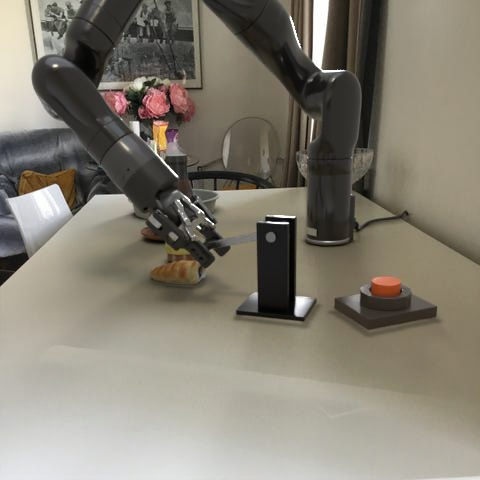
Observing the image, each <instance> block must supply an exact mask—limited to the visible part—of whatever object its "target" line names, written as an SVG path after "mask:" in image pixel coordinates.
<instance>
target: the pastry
mask: <svg viewBox="0 0 480 480" xmlns="http://www.w3.org/2000/svg"><path fill="white" fill-rule="evenodd" d="M149 275H150V276H151V278H152V279H153V280H154V281H156V282H162V283H167V284H177V285H191V286H192V285H193V286H195V285H197V284H198V283H200V281H201V280H202V279H204V278H207V270H206V268H203V267H202V266H201V265H200V264H199V262H198V261H197V260H190V261H185V260H180V261H179V262H178V261H176V262H172V263H171V262H168V263H166V264H165V265H164V264H162V265H159V266H156V267H154V268H153V269H152V270H150V272H149Z"/></svg>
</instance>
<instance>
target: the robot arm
mask: <svg viewBox="0 0 480 480" xmlns="http://www.w3.org/2000/svg"><path fill="white" fill-rule="evenodd" d="M145 1H146V0H82V2H81V4H80V5H79V7H78V8H77V11H76V12H75V13H74V15H73V17H72V19H71V20H70V22H69V24H68V26H67V28H66V29H65V34H64V44H65V45H64V51H63V53H62V54H58V53H49V54H45V55H43V56H41V57H39V59H37V60H36V62H34V65H33V67H32V70H31V85H32V88H33V91H34V93H35V95H36V96H37V98H38V100H39V101H40V103H41V105H42V107H43V108H44V110H45V111H46V112H47V114H48V115H49V116H50V117H52V118H53V119H55V120H56V121H58V122H63V123H64V124H65V125H66V126H67V127H68V128H69V129H70V130H71V131H72V133H73V134H74V135H75V138H76V139H77V141H78V142H79V144H80V145H81V147H82V148H83V149H84V150H85V151H86V153H88V154H89V156H91V158H92V160H94V161H95V162H96V163H97V164H98V165H99V166H100V168H101V169H102V170H103V171H104V173H105V174H106V176H107V177H108V178H109V179H110V180H111V182H112V183H113V184H114V185H115V186H116V187H117V188H118V189H119V190H120V191H121V193H123V195H125V197H126V198H127V200H128V199H129V200H130V201H131V202H132V203H133V204H134V205H135V206H136V207H137V208H138V209H139V210H140V211H141V212H142V213H149V212H152V215H151V216H150V217H149V218H148V219H145V225H146V227H149V228H150V229H151V230H152V231H154V232H155V233H156V234H157V235H158V236H159V237H160V238H161V239H163V240H164V243H165V242H166V243H167V244H168V245H169V246H170V247H171V248H173V249H174V250H175V251H178V250H179V249H182V250H184V251H188V252H189V253H190V254H191V255H192V256H193V257H194V258H195V259H196V260H195V261H198V262H199V264H200V265H201V266H202V267H203V268H205V269H208V268H209V267H210V266H212V264H213V263H214V262H215V261H216V256H215V255H214V254H213V253H212V252H211V250H208V249H207V248H206V247H205V246H204V245H203V244H202V243H203V242H202V241H201V240H200V239H198V240H197V237H196V236H195V234H194V232H196V233H197V235H198V236H199V237H201V238H203V239H204V242H205V241H207V240H208V239H210V238H211V237H216V238H217V239H218V240H220V239H225V238H224V237H223V236H222V235H221V234H220V233H219V231H217V230H216V228H217V226H216V225H217V224H218V220H217V218H216V217H215V216H214V215H213V213H211V212H210V211H209V210H208V208H207V207H206V206H205V205H204V203H203V202H202V201H201V200H200V198H199V197H198V196H197V195H196V194H192V195H191V197H189V198H187V197H186V196H185V195H183V194H182V193H181V192H179V191H178V190H177V185H178V184H179V177H178V176H177V175H176V174H175V173H174V172H173V171H172V169H171V168H170V167H169V166H168V165H167V164H166V161H164V159H163V158H161V156H159V154H158V153H157V152H156V151H155V150H154V149H153V148H152V147H151V146H150V145H149V144H148V143H147V142H146V141H145V140H144V139H143V138H141V136H139V135H138V134H137V133H136V132H135V131H134V130H133V128H131V127H130V125H128V124H127V122H126V121H125V120H124V119H123V118H122V117H121V116H120V115H119V114H118V113H117V112H116V111H115V110H114V109H113V108H112V107H111V106H110V104H109V103H108V102H107V101H106V99H105V98H104V96H103V95H102V94H101V92H100V91H99V90H98V89H99V87H100V84H101V82H102V79H103V77H104V74H105V70H106V67H107V65H108V62H109V61H110V60H111V58H112V57H113V55H114V54H115V51H116V50H117V48H118V47H119V45H120V43H121V42H122V40H123V38H124V37H125V35H126V33H127V31H128V29H129V28H130V26H131V24H132V23H133V21H134V20H135V17H137V15H138V13H139V12H140V9H141V7H142V6H143V5H144V2H145ZM200 1H201V2H202V3H203V4H204V5H205V6H206V7H207V8H208V10H210V12H212V13H213V14H214V15H215V16H216V17H217V18H218V19H219V20H220V21H221V23H222V24H223V25H224V26H225V27H226V28H227V29H228V30H229V32H230V33H231V34H233V36H234V37H235V38H236V39H237V40H238V41H239V42H240V43H241V44H242V45H243V46H244V47H245V48H246V49H247V50H248V51H249V52H250V53H251V54H252V55H253V56H255V58H256V59H257V60H258V61H259V62H260V63H261V64H262V65H263V66H264V67H265V68H266V69H267V70H268V71H269V72H270V73H271V74H272V75H273V76H274V77H275V78H276V79H277V80H278V81H279V82H280V84H281V85H282V86H283V88H284V89H285V90H286V91H287V92H288V94H289V95H290V97H291V98H292V99H293V100H294V102H295V103H296V105H298V107H299V108H300V109H301V111H302V112H303V113H304V114H305V115H306V116H307V117H308V118H310V119H312V120H314V121H316V122H320V131H319V134H318V136H317V137H316V138H315V139H313V140H311V141H310V142H309V143H308V144H307V148H306V196H305V197H306V198H305V199H306V201H305V202H306V203H305V236H304V237H305V238H304V239H305V242H306V243H308V244H311V245H316V246H327V247H328V246H331V247H333V246H341V245H345V244H348V243H350V242H354V238H355V237H354V236H355V234H354V232H355V231H357V232H359V231H361V230H362V229H363V228H366V226H368V225H371V224H373V223H379V222H385V221H393V220H398V219H402V217H403V216H404V215H406V216H409V215H410V214H409V211H408V210H407V209H404V210H402V212H401V213H400V214H398V215H393V216H387V217H379V218H373V219H370V220H366V221H365V222H364V223H362V224H361V225H360V223H359V221H357V218H356V195H355V194H352V192H353V172H354V171H353V170H354V169H353V167H354V150H355V147H356V145H357V142H358V140H359V132H360V123H361V111H362V98H363V97H362V88H361V83H360V81H359V79H358V77H357V75H355V74H354V73H353V72H351V71H349V70H344V69H343V70H341V69H340V70H338V69H337V70H323V69H322V68H320V67H319V66H318V65H317V64H316V63H315V62H314V61H313V60H312V59H311V58H310V56H308V55H307V54H306V52H304V50H303V49H302V47H301V46H300V45H301V44H300V43H299V40H298V37H297V33H296V30H295V26H294V22H293V20H292V17H291V15H290V13H289V12H288V9H287V8H286V7H285V5H284V4H283V3H282V2H281V1H280V0H200ZM131 202H130V203H131ZM132 203H131V204H132ZM133 204H132V205H133ZM193 220H194V221H193ZM192 221H193V222H192ZM191 222H192V223H191ZM163 226H164V228H163ZM185 233H186V234H185ZM169 234H170V236H171V237H170V236H169ZM173 239H176V241H174V240H173ZM196 240H197V241H196ZM231 249H232V245H231V246H225V247H220V248H215V249H212V251H214V252H215V254H217V255H218V256H219V257H220V258H221V257H224V256H225V255H226V254H227V253H228V252H230V251H231Z"/></svg>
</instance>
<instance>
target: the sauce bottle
mask: <svg viewBox="0 0 480 480" xmlns="http://www.w3.org/2000/svg"><path fill="white" fill-rule="evenodd" d="M164 157H165V163H166V164H167V165H168V166H169V167H170V168H171V169H172V171H173V172H174V173H175V174H176V175H177V176H178V177H179V184H178V185H177V190H178V191H179V192H181V193H182V194H183V195H185V196H186V197H187V198H189V197H191V195H192V194H194V193H193V190H192V189H193V188H192V185H191V183H190V180H189V175H188V162H189V160H188V154H186V153H173V154H165V155H164ZM193 221H194V220H193ZM193 221H192V222H193ZM192 222H191V223H192ZM185 234H186V233H185ZM194 234H195V236H196V237H197V240H199V239H198V238H199V235H198V234H197V233H196V232H194ZM169 236H170V234H169ZM170 237H171V236H170ZM173 240H174V241H176V239H173ZM197 240H196V241H197ZM164 243H165V244H164V245H165V253H166V259H167V261H168V263H172V262H179V261H180V260H185V261H197V260H196V259H195V258H194V257H193V256H192V255H191V254H190V253H189V252H188V251H184V250H182V249H179V250H178V251H175V250H174V249H173V248H171V247H170V246H169V245H168V244H167V243H166V242H165V241H164Z"/></svg>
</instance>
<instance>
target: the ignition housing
mask: <svg viewBox="0 0 480 480" xmlns="http://www.w3.org/2000/svg"><path fill="white" fill-rule="evenodd" d="M333 303H334V305H333V308H334V309H335V310H337V311H338V312H340V313H341V314H343V315H344V316H346V317H347V318H349V319H350V320H352V321H354V322H355V323H357V324H358V325H360V326H361V327H363V328H365V329H366V330H368V331H370V330H375V329H380V328H386V327H391V326H396V325H400V324H406V323H411V322H415V321H421V320H426V319H431V318H432V319H433V318H437V314H438V305H436V304H433V303H432V302H429V301H427V300H425V299H423V298H422V297H420V296H417V295H415V294H413V293H412V290H411V288H410V287H408V286H406V285H404V284H401V290H400V294H399V295H393V296H382V295H377V294H373V293H372V292H371V282H370V283H366V284H364V285H362V286H360V287H359V293H358V294H357V293H356V294H351V295H346V296H340V297H335V298H334V302H333Z"/></svg>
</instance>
